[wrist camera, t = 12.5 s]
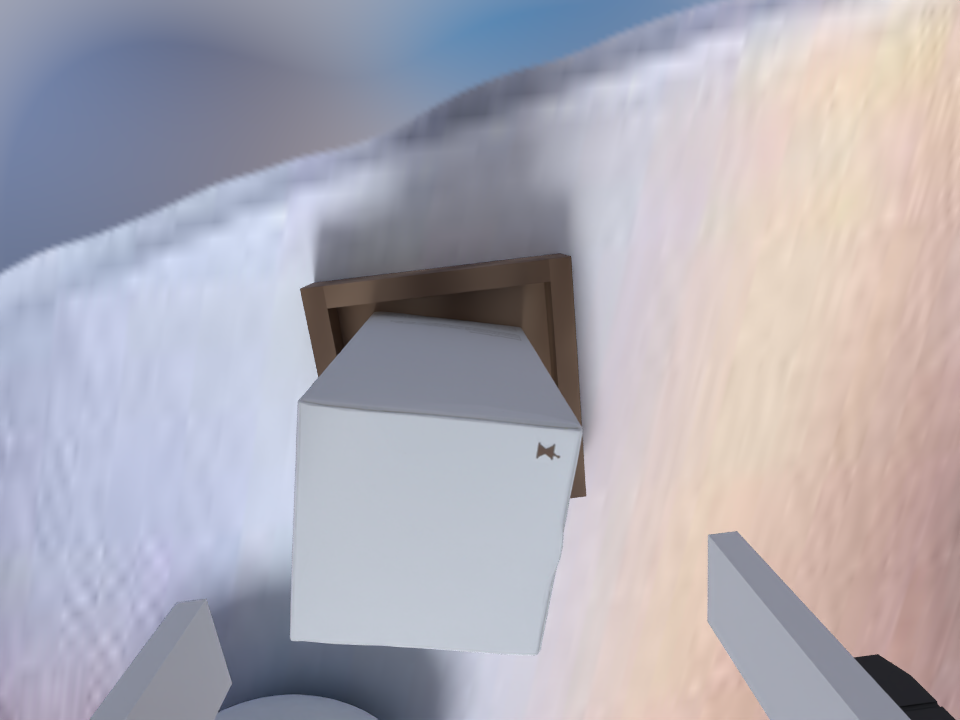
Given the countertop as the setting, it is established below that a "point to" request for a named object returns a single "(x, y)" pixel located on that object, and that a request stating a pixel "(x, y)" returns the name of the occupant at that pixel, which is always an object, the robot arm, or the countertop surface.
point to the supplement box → (431, 489)
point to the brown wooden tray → (463, 312)
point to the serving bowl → (293, 709)
